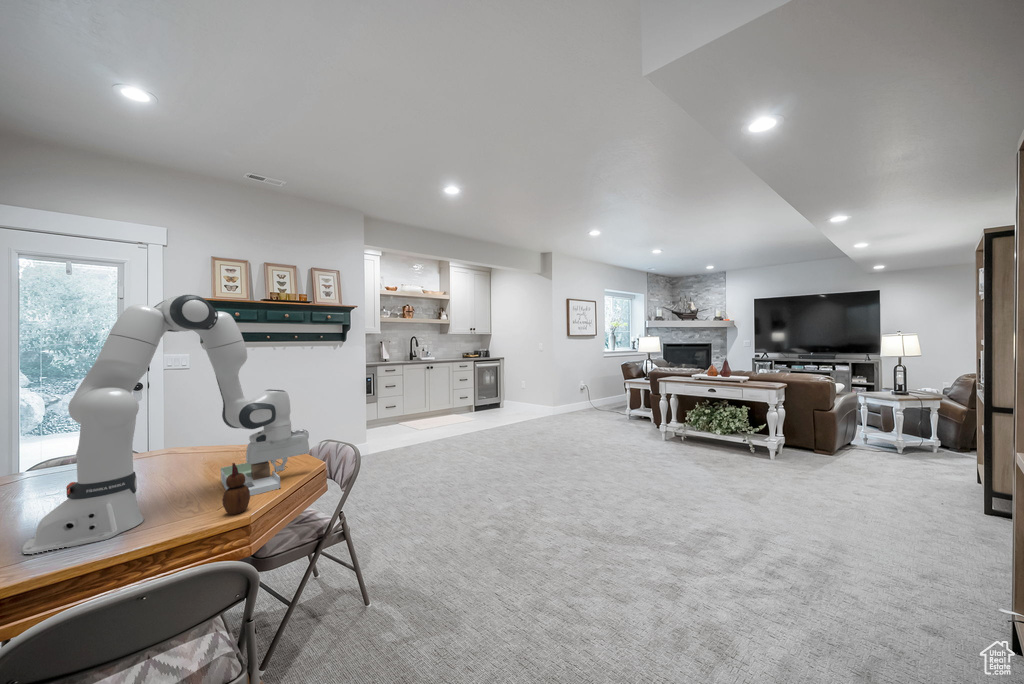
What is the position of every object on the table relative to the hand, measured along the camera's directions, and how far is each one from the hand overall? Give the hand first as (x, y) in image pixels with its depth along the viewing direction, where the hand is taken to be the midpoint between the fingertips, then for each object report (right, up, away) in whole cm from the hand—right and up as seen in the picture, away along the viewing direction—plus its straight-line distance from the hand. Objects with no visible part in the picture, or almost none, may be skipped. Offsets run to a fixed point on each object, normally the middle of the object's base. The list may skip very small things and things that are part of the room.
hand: (279, 470), depth 152 cm
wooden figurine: (+5, -3, -30) cm, 31 cm away
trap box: (-8, -3, -5) cm, 10 cm away
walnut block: (-5, -1, -3) cm, 6 cm away
